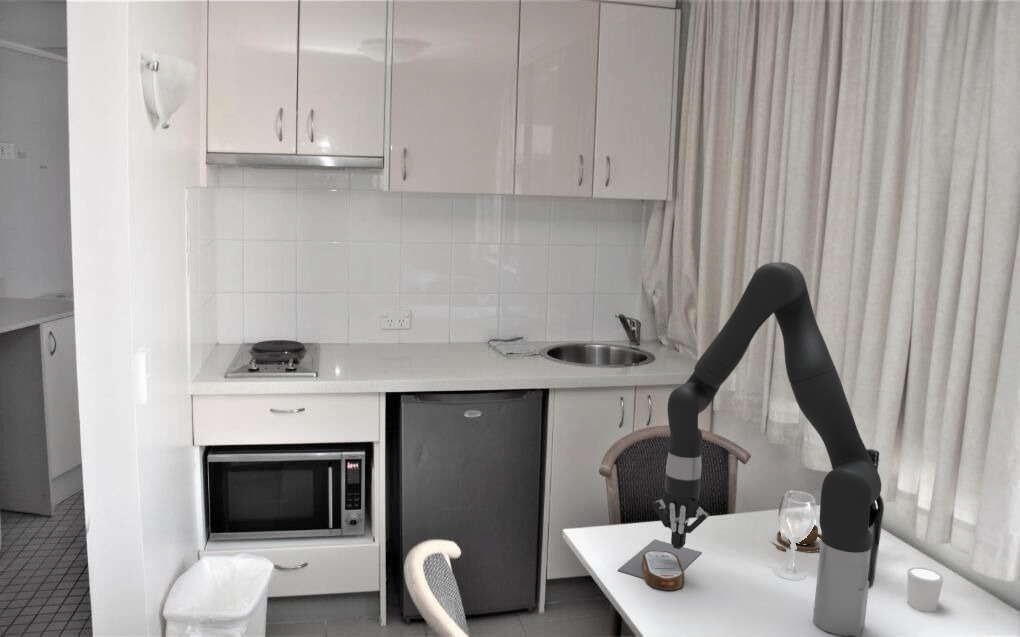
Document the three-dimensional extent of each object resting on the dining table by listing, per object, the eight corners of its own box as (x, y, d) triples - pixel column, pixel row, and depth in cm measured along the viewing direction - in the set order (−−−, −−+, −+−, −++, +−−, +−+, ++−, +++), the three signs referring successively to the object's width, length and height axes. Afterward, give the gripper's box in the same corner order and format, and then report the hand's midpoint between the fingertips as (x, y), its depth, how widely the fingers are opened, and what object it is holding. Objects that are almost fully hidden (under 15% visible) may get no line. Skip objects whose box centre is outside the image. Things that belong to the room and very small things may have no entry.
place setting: (816, 531, 215) (818, 510, 214) (871, 565, 196) (874, 541, 195) (758, 538, 209) (760, 515, 208) (809, 572, 191) (811, 548, 190)
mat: (701, 553, 198) (701, 552, 198) (667, 586, 180) (667, 584, 180) (654, 540, 204) (654, 539, 204) (617, 570, 186) (617, 569, 186)
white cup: (946, 608, 175) (950, 577, 174) (926, 615, 171) (930, 583, 170) (917, 594, 181) (920, 564, 180) (896, 601, 177) (900, 570, 176)
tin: (675, 560, 192) (639, 561, 193) (675, 547, 192) (639, 548, 192) (687, 591, 177) (647, 591, 178) (687, 577, 177) (647, 577, 177)
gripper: (718, 475, 183) (712, 549, 185) (661, 462, 190) (656, 534, 192) (706, 484, 176) (700, 561, 179) (648, 470, 183) (643, 545, 186)
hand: (677, 547), depth 186 cm, fingers closed
